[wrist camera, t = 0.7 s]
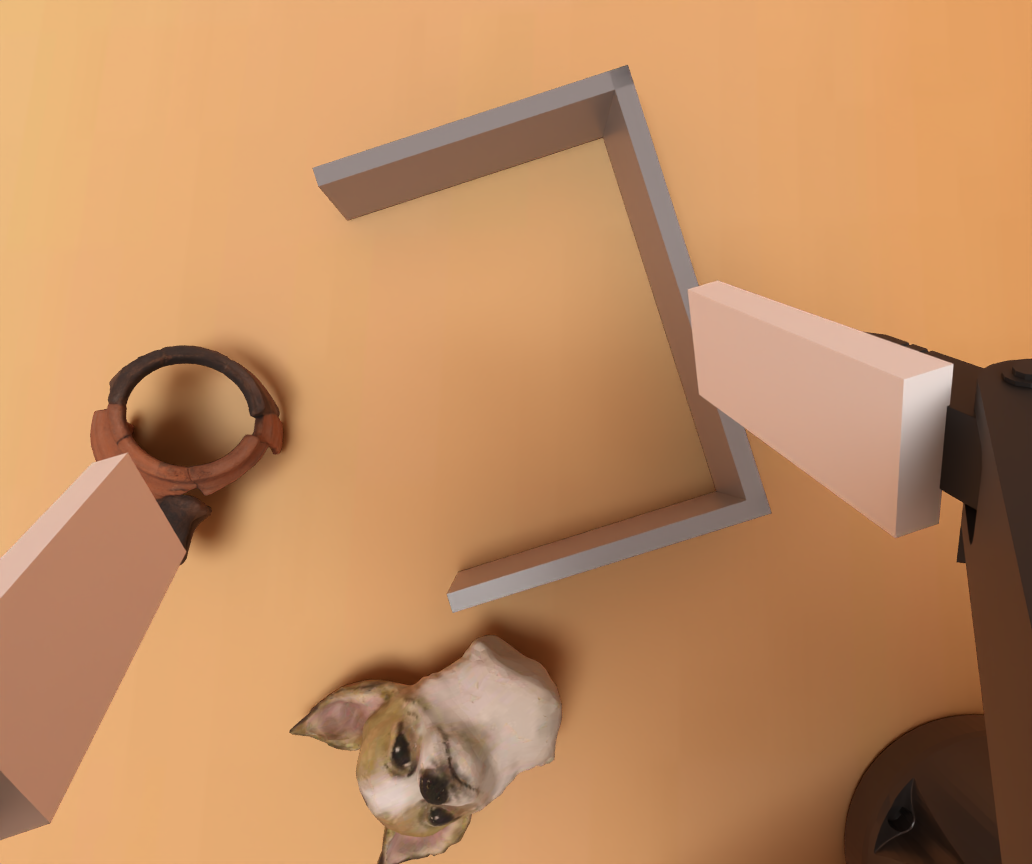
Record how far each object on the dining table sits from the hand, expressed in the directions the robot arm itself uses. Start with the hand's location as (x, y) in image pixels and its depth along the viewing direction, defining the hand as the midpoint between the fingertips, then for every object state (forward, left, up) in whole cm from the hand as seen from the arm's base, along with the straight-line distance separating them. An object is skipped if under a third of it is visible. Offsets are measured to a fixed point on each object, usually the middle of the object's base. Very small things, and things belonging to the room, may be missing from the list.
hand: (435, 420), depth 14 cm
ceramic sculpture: (-15, +8, -22) cm, 28 cm away
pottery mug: (+4, +17, -22) cm, 28 cm away
